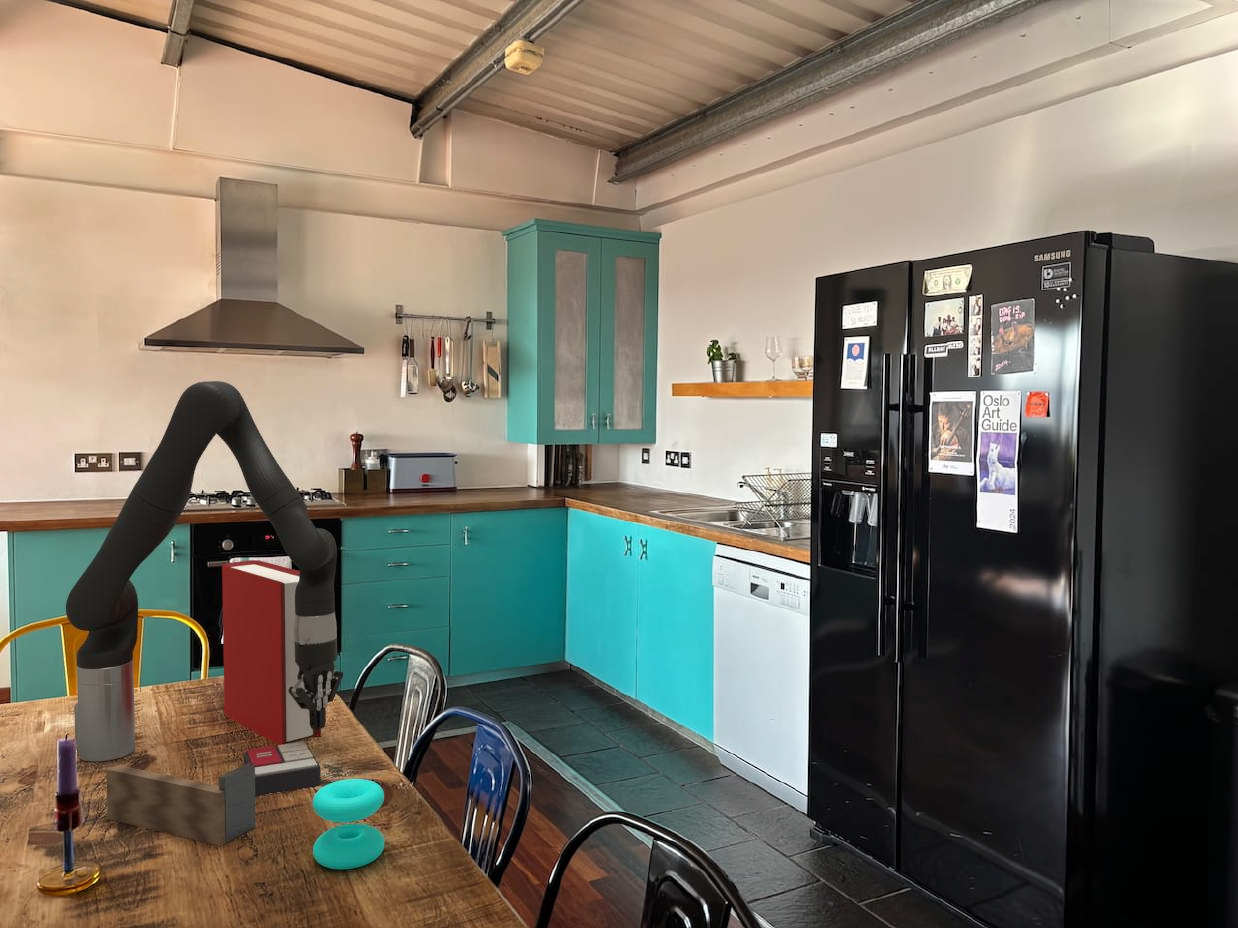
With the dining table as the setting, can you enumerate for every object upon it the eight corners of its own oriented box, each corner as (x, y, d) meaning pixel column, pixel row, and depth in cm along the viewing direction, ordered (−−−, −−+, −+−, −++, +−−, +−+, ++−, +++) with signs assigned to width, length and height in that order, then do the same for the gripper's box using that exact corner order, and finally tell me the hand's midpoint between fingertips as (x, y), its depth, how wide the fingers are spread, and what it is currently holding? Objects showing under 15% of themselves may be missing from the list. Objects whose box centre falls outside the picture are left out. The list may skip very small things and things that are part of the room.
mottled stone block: (107, 818, 148) (105, 768, 148) (144, 801, 155) (143, 753, 154) (220, 845, 139) (219, 793, 139) (255, 826, 146) (254, 776, 145)
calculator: (306, 738, 175) (320, 762, 162) (307, 761, 175) (321, 786, 162) (243, 748, 170) (252, 772, 157) (243, 771, 170) (253, 798, 157)
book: (321, 736, 186) (319, 576, 184) (282, 747, 180) (280, 581, 178) (258, 705, 205) (256, 559, 203) (221, 713, 199) (219, 563, 197)
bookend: (220, 841, 141) (218, 776, 140) (249, 825, 146) (248, 762, 146) (226, 843, 140) (225, 777, 140) (255, 826, 146) (254, 763, 145)
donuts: (347, 809, 129) (297, 793, 134) (348, 879, 130) (298, 861, 135) (398, 784, 138) (349, 770, 143) (399, 850, 139) (350, 834, 144)
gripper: (323, 627, 182) (325, 715, 183) (274, 643, 170) (276, 737, 171) (354, 630, 179) (356, 719, 180) (307, 647, 167) (309, 742, 168)
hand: (317, 728), depth 176 cm, fingers closed
